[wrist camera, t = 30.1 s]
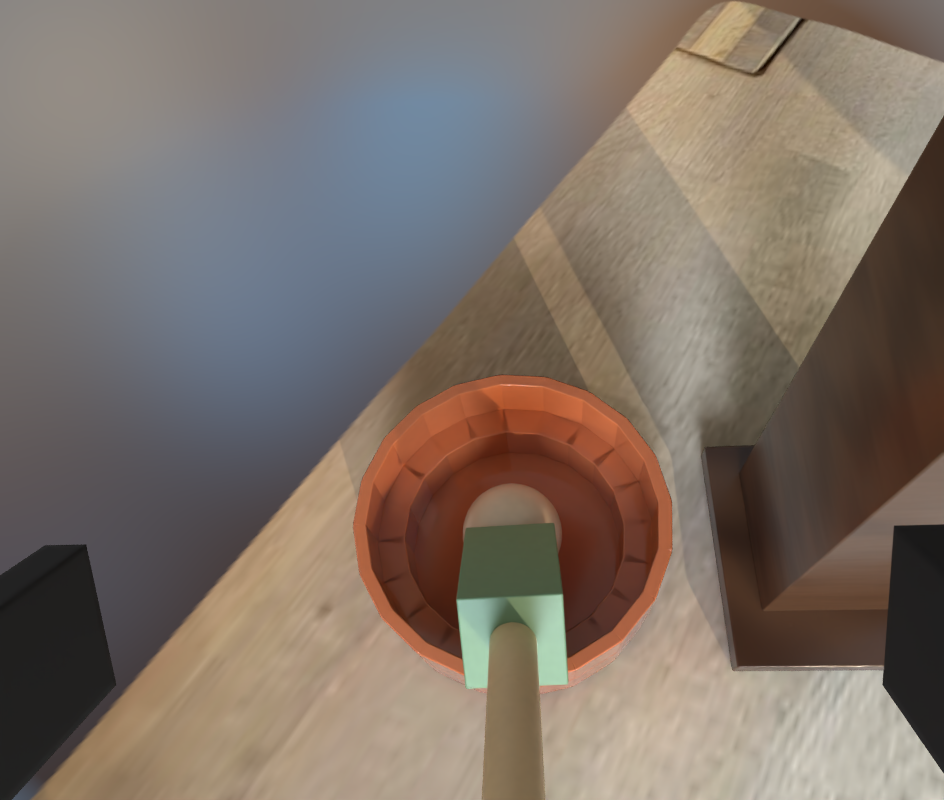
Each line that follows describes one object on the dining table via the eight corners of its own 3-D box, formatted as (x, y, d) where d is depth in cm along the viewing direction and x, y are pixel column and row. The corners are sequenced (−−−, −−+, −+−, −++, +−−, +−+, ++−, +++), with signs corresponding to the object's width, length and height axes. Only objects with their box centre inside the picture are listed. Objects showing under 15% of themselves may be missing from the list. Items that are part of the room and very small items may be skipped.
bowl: (558, 384, 43) (558, 327, 38) (715, 598, 37) (741, 566, 31) (338, 507, 41) (305, 466, 36) (464, 757, 35) (447, 751, 29)
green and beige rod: (623, 1018, 17) (616, 856, 16) (419, 1021, 18) (395, 862, 16) (561, 551, 39) (556, 465, 38) (469, 556, 39) (461, 471, 38)
